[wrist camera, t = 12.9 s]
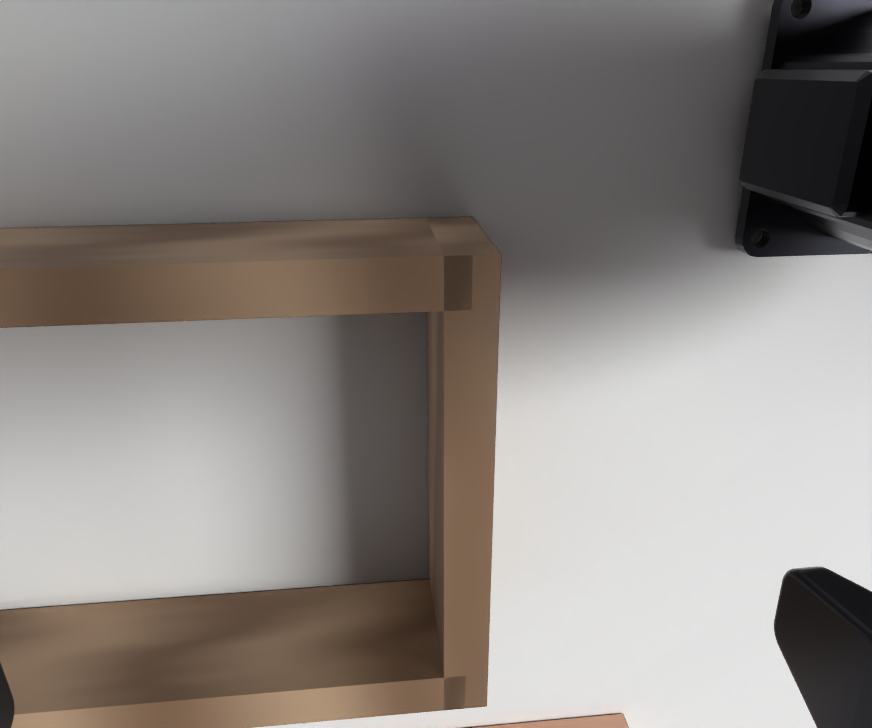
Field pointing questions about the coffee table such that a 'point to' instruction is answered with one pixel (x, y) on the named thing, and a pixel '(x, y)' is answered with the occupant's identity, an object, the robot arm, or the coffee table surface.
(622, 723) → the terracotta coaster
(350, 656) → the frame
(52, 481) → the coffee table surface
